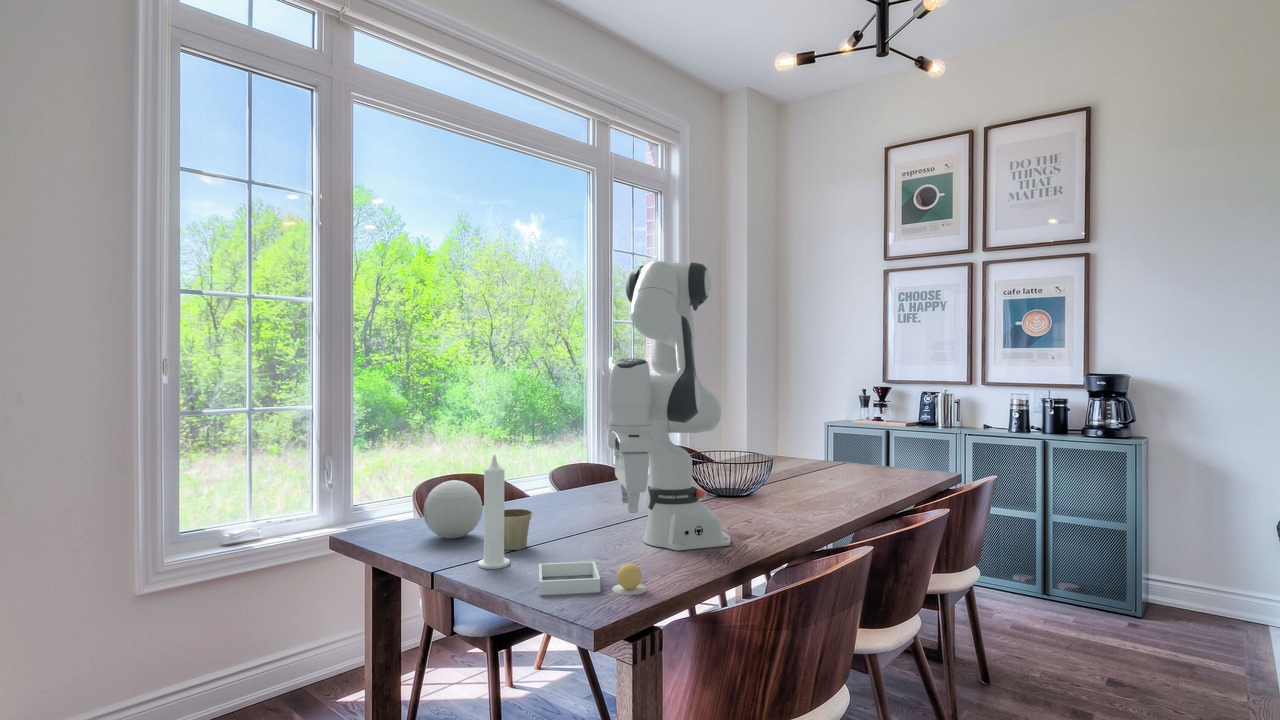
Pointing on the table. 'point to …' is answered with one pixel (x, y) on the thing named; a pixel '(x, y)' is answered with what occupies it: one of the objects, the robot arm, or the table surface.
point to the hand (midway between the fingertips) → (629, 507)
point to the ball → (629, 576)
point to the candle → (494, 518)
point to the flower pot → (516, 528)
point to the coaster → (629, 590)
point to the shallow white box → (569, 584)
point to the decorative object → (452, 509)
